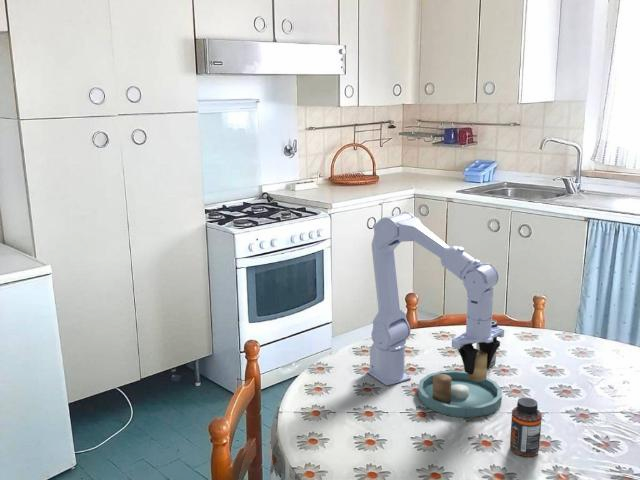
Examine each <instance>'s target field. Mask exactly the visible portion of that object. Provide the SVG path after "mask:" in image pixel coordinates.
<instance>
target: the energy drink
mask: <svg viewBox="0 0 640 480" xmlns="http://www.w3.org/2000/svg"><path fill="white" fill-rule="evenodd" d="M496 327H499V326H498V321H497V320H496V319H493V318H492V327H491V328H496ZM496 340H498V337H496ZM475 344H476V346H475V347H476V348H475V349H477V350H480V347H479V343H475ZM496 363H497V351H496V352H495V354H494V356H493V358H492V361H491V364H490V366H494V365H495V364H496Z"/></svg>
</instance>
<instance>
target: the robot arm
mask: <svg viewBox="0 0 640 480" xmlns="http://www.w3.org/2000/svg"><path fill="white" fill-rule="evenodd" d="M373 233H374V235H373V238H372V241H371V253H372V263H373V273H374V278H375V279H374V280H375V288H376V289H375V290H376V298H377V308H378V311H377V313H376V315H375V317H374V319H373V320H372V331H371V336H370V337H371V340H372V342H373V343H372V344H371V346H370V350H369V369H368V370H366V373H367V374H369V375H370V376H372V377H373V378H375V379H376V380H378V381H379V382H380V383H382V384H383V385H385V386H390V385H394V384H397V383H401V382H405V381H408V380H412V377H411V375H409V374H407V373H406V372H405V354H406V353H405V349H406V347H405V346H406V342H407V341H406V340H407V339H409V337H410V335H411V332H412V331H411V326H410V324H409V322H408V320H407V313H405V312H404V311H403V310H402V309H401V307H400V297H399V289H398V288H399V287H398V280H397V278H398V277H397V268H396V260H395V258H396V257H395V249H396V248H397V247H398V246H399V245H400V244H401V243H402V242H404V243H405V242H415V243H416V244H418V245H420V246H421V247H422V248H424V249H426V250H428V251H429V252H430V253H432V254H433V255H435V256H436V257H438V258H439V259H440V263H441V266H442V267H444V268H445V269H446V270H447V271H448V272H449V273H452V275H454V276H456V277H457V278H458V279H459V280H461V281H462V282H463V283H462V284H463V286H464V288H465V290H466V298H467V299H466V300H467V302H466V303H467V304H466V323H465V324H466V326H465V332H463V333H461V334H460V335H458V336H456V337H454V338H452V339H451V348H454V349H455V350H457V351H458V353H459V355H460V357H461V360H462V363H463V364H462V365H463V368H464V369H463V370H464V371H465V372H466V373H468V374H470V375H471V374H473V372H474V363H475V358H476V355H477V353H478V351H479V350H477V349H476V348H475V347H474V345H473V344H477V343H479V347H480V350H482V351H485V352H486V353H487V371H488V370H489V369H490V364H491V361H492V358H493V356H494V354H495V352H496V353H497V350H498V349H499V348H500V346H501V341H500V340H498V339H497V340H496V337H497V338H501V339H502V338H504V337H505V329H504V328H502V327H499V326H497V327H496V328H491V327H492V319H493V303H494V287H495V286H497V284H498V282H499V273H498V270H497V269H496V268H495V267H494V266H493V265H492V264H490V263H488V262H483V263H482V262H481V260H479V259H475V258H474V257H472V255H470V254H468V253H467V252H466V250H465V248H464V247H462V246H457V245H452V246H449V245H448V244H446V243H445V241H444V240H442V239H441V238H439V237H438V236H437V235H436V234H435V233H433V232H432V231H430V229H428V228H427V227H426V226H424V224H423V223H422V222H421V219H420V218H418V217H417V216H414V214H412V213H411V212H409V211H403V212H401V213H399V214H394V215H391V216H385V217H382V218H380V219H379V220H378V221H377V222H376V223H375V224H374V225H373Z"/></svg>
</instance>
